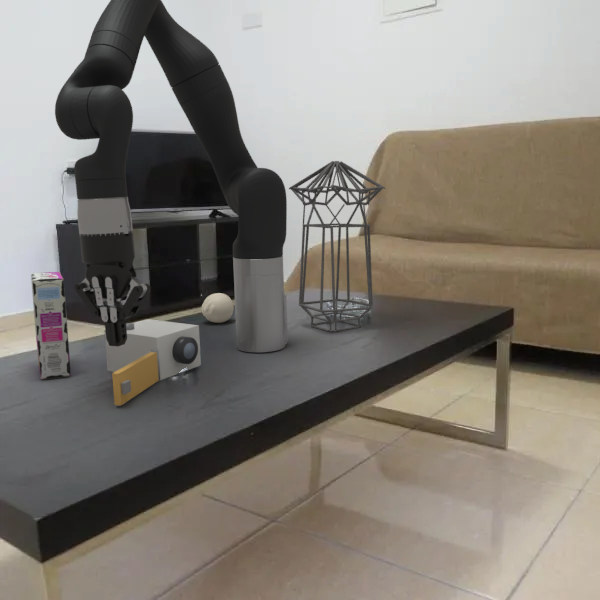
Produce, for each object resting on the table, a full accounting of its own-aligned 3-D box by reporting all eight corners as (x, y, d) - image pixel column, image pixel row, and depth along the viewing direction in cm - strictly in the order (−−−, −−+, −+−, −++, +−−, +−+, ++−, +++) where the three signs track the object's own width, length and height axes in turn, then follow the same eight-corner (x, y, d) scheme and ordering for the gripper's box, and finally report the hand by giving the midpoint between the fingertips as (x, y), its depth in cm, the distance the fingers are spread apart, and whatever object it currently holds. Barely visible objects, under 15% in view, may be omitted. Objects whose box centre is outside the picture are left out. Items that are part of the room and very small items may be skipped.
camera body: (150, 356, 118) (147, 314, 116) (208, 366, 110) (206, 321, 109) (107, 370, 109) (103, 325, 108) (167, 382, 102) (164, 333, 101)
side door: (154, 379, 103) (152, 349, 102) (164, 380, 103) (162, 349, 102) (114, 406, 91) (111, 372, 90) (125, 407, 90) (122, 372, 89)
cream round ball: (195, 323, 146) (194, 294, 145) (221, 318, 151) (220, 290, 150) (213, 327, 141) (212, 297, 140) (240, 322, 146) (238, 292, 145)
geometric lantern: (286, 325, 142) (284, 162, 137) (346, 318, 150) (346, 163, 144) (326, 337, 128) (325, 157, 123) (388, 329, 136) (390, 159, 131)
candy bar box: (73, 376, 106) (64, 278, 103) (40, 381, 104) (30, 280, 102) (68, 360, 116) (60, 270, 114) (38, 364, 115) (29, 272, 112)
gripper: (52, 232, 94) (66, 348, 97) (124, 231, 88) (136, 354, 91) (89, 228, 100) (101, 336, 104) (158, 227, 95) (168, 342, 98)
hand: (117, 344), depth 97 cm, fingers closed
